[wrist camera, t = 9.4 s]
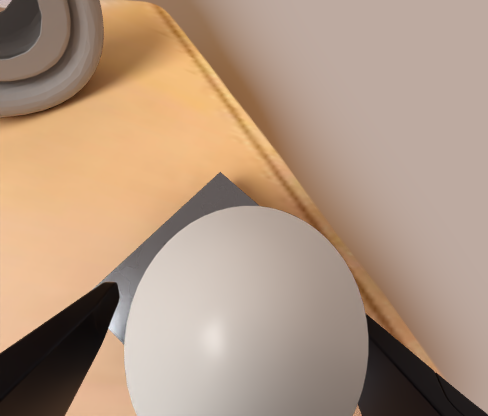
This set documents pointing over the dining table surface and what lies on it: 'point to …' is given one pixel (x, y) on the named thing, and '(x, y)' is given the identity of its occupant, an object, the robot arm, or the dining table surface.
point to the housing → (134, 266)
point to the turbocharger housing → (47, 52)
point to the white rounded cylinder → (246, 322)
